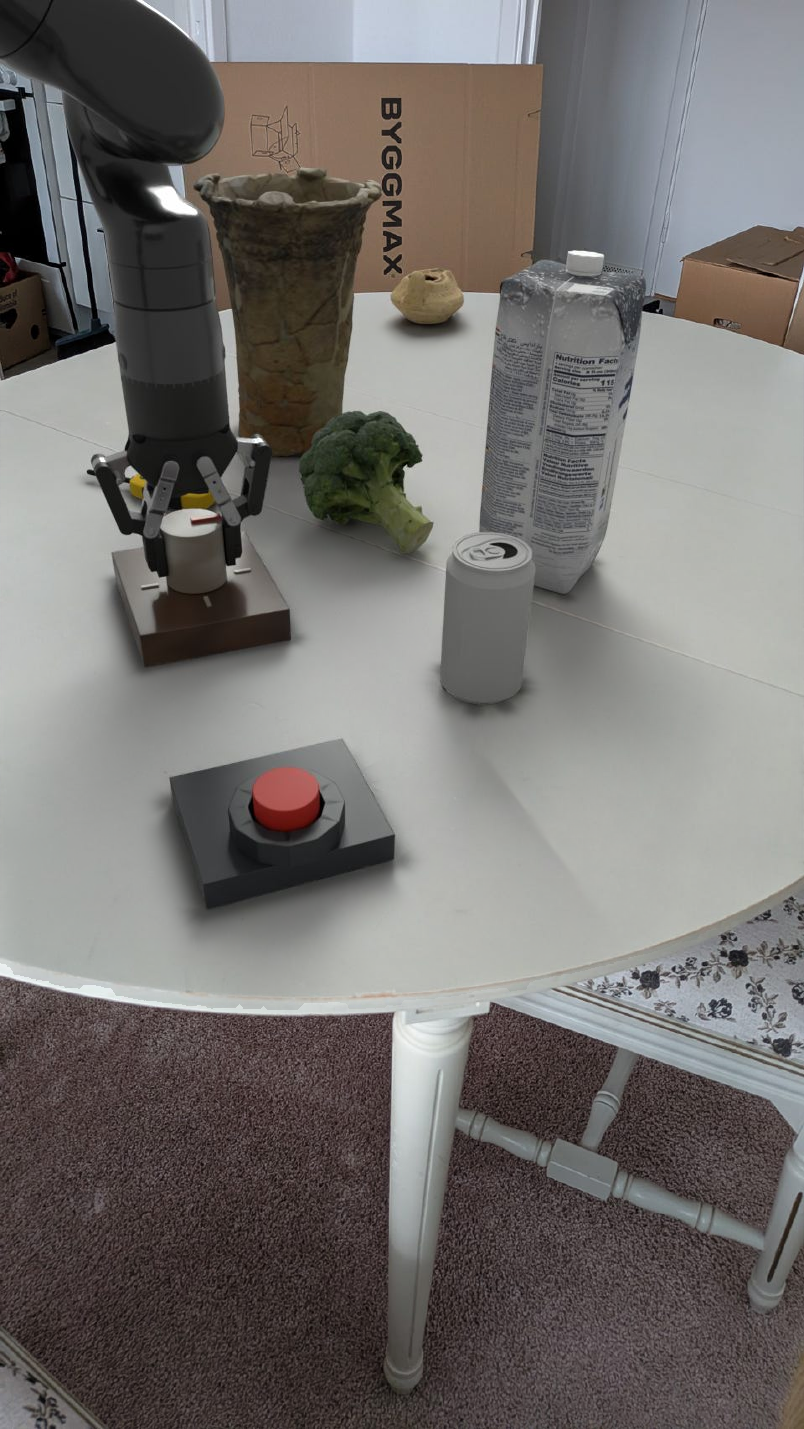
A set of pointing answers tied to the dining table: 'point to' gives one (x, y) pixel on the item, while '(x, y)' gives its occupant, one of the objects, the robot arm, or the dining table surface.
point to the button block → (262, 860)
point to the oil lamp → (428, 296)
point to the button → (286, 799)
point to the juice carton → (559, 409)
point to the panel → (201, 609)
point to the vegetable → (364, 475)
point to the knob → (194, 550)
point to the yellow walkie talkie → (175, 503)
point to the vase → (289, 294)
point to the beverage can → (486, 617)
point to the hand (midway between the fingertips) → (195, 566)
